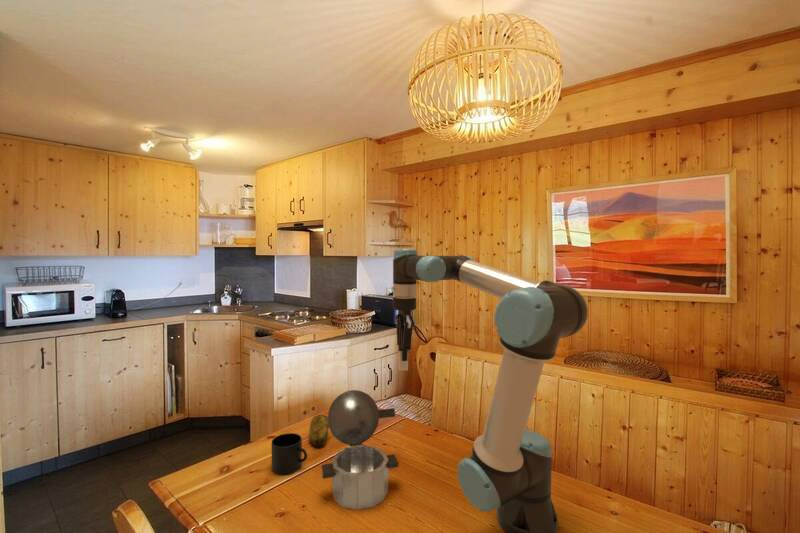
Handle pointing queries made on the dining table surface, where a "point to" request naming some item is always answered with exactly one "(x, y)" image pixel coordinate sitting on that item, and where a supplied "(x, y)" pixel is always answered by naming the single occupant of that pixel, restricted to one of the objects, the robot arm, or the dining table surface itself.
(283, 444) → the mug
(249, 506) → the dining table surface
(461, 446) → the dining table surface
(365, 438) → the lid
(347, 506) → the pot
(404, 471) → the dining table surface
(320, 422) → the potato
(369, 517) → the dining table surface
